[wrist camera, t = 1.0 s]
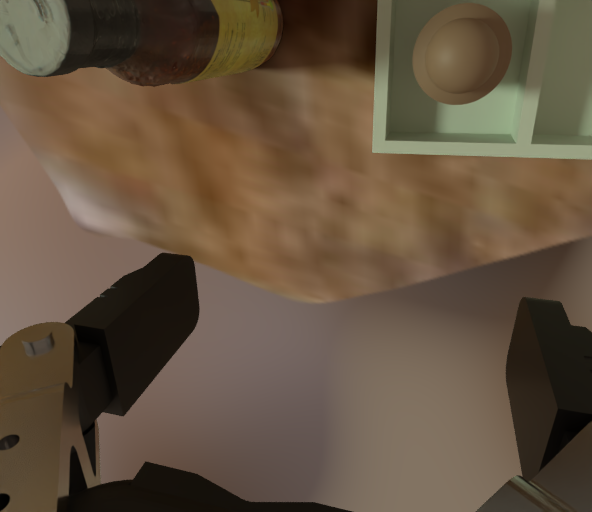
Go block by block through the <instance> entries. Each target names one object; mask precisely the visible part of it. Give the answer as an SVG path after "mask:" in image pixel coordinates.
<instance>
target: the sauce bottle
mask: <svg viewBox="0 0 592 512" xmlns="http://www.w3.org/2000/svg"><path fill="white" fill-rule="evenodd" d="M282 30H283V16H282V11H281V8H280V5H279V3H278V1H277V0H0V56H2V57H3V58H4V59H5V60H6V61H7V62H8V63H9V64H10V65H11V66H13V67H14V68H16V69H17V70H19V71H20V72H22V73H25V74H27V75H32V76H37V77H49V76H57V75H64V74H68V73H71V72H73V71H75V70H77V69H78V68H86V67H97V68H106V69H108V70H109V71H110V72H112V73H113V74H114V75H116V76H118V77H119V78H121V79H123V80H125V81H127V82H130V83H131V84H136V85H139V86H154V87H155V86H160V85H164V84H169V83H171V84H182V83H187V82H192V81H198V80H204V79H208V78H214V77H220V76H226V75H231V74H236V73H241V72H246V71H249V70H252V69H254V68H256V67H258V66H259V65H261V64H262V63H264V62H266V61H267V60H269V59H270V58H271V57H272V56H273V55H274V53H275V51H276V49H277V47H278V45H279V42H280V40H281V37H282Z"/></svg>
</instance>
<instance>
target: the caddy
mask: <svg viewBox="0 0 592 512" xmlns="http://www.w3.org/2000/svg"><path fill="white" fill-rule="evenodd" d="M372 153H400V154H432V155H465V156H498V157H531V158H564V159H592V0H378V5H377V33H376V61H375V89H374V117H373V145H372Z"/></svg>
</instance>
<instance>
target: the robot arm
mask: <svg viewBox="0 0 592 512" xmlns="http://www.w3.org/2000/svg"><path fill="white" fill-rule="evenodd" d="M198 317H199V299H198V291H197V282H196V273H195V266H194V261H193V259H192V257H190V256H187V255H179V254H171V253H161V254H159V255H158V256H157V257H156V258H154V259H153V260H152V261H151V262H149V263H148V264H147V265H146V266H144V267H143V268H141V269H139V270H136V271H134V272H132V273H130V274H128V275H125V276H123V277H122V278H121V279H119V280H118V281H117V282H116V283H114V284H113V285H112V286H111V288H110V289H107V290H106V291H104V292H103V293H102V294H100V297H97V298H95V299H94V300H93V301H92V302H91V303H89V304H88V305H87V306H86V307H84V308H83V309H82V310H80V311H79V312H78V313H77V314H75V315H74V316H73V317H71V318H70V319H69V320H68V321H66V322H65V323H60V322H46V323H40V324H36V325H33V326H30V327H27V328H24V329H22V330H20V331H18V332H17V333H15V334H13V335H11V336H10V337H9V338H8V339H7V340H6V341H5V342H4V343H3V344H2V346H0V512H352V511H348V510H343V509H339V508H335V507H331V506H327V505H323V504H319V503H315V502H249V501H245V500H243V499H241V498H239V497H238V496H236V495H234V494H232V493H230V492H228V491H227V490H225V489H223V488H221V487H220V486H218V485H216V484H214V483H212V482H211V481H209V480H207V479H205V478H203V477H202V476H200V475H198V474H195V473H191V472H186V471H183V470H179V469H174V468H170V467H166V466H162V465H158V464H154V463H150V462H145V463H144V465H143V466H142V467H141V469H140V470H139V472H138V473H137V475H136V476H135V478H134V479H133V480H122V481H114V482H109V483H105V484H101V475H100V448H99V447H100V446H99V428H98V423H97V418H98V417H99V415H100V414H101V413H102V412H105V413H110V414H115V415H119V416H124V415H125V414H126V412H127V411H128V410H129V409H130V408H131V407H132V405H133V404H134V403H135V402H136V400H137V399H138V398H139V397H140V396H141V394H142V393H143V392H144V391H145V389H146V388H147V387H148V386H149V384H150V383H151V382H152V381H153V379H154V378H155V377H156V376H157V374H158V373H159V372H160V371H161V370H162V368H163V367H164V366H165V365H166V363H167V362H168V361H169V360H170V359H171V357H172V356H173V355H174V354H175V352H176V351H177V350H178V349H179V348H180V346H181V345H182V344H183V343H184V341H185V340H186V339H187V338H188V336H189V335H190V334H191V333H192V332H193V330H194V329H195V327H196V324H197V322H198ZM506 383H507V388H508V395H509V400H510V406H511V412H512V417H513V424H514V429H515V435H516V441H517V447H518V452H519V458H520V464H521V470H522V475H523V477H521V476H515V477H513V478H512V479H510V480H509V481H508V482H506V483H505V484H504V485H503V486H502V487H501V488H500V489H499V490H498V491H497V492H496V493H495V494H494V495H493V496H492V497H491V498H489V499H488V500H487V501H486V502H485V503H484V504H483V505H482V506H481V507H480V508H479V509H478V510H477V511H476V512H592V332H591V331H589V330H588V329H587V328H586V327H580V326H572V325H571V324H570V322H569V320H568V317H567V315H566V312H565V310H564V308H563V305H562V303H561V302H559V301H553V300H543V299H536V298H528V297H523V298H522V299H521V301H520V303H519V307H518V311H517V316H516V320H515V324H514V329H513V333H512V337H511V342H510V346H509V350H508V355H507V363H506Z"/></svg>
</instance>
